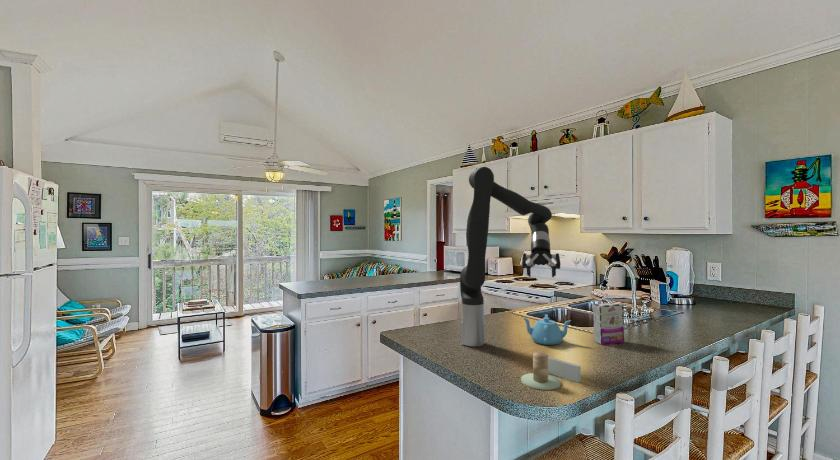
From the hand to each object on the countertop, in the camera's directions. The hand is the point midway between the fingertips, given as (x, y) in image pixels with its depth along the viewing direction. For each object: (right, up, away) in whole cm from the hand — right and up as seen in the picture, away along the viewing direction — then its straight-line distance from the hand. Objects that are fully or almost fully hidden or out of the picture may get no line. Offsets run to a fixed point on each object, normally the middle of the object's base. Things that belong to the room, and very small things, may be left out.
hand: (541, 275), depth 142 cm
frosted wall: (-1, -31, -19) cm, 36 cm away
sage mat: (-8, -31, -24) cm, 40 cm away
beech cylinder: (-8, -30, -24) cm, 39 cm away
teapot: (+9, -31, +19) cm, 38 cm away
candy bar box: (+34, -30, +16) cm, 48 cm away
